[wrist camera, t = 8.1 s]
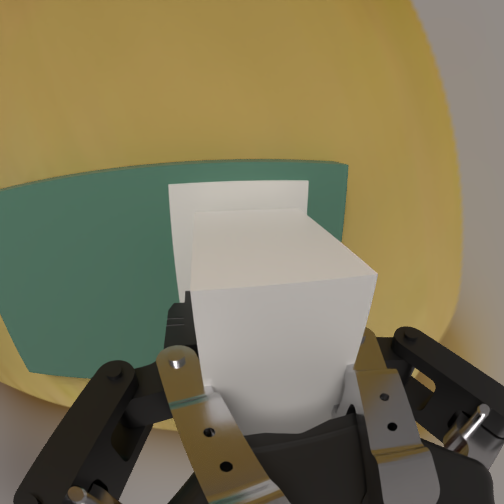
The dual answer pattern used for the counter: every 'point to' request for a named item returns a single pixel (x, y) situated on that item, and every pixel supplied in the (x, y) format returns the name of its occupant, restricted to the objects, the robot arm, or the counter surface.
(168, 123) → the counter surface
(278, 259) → the block
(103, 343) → the board
